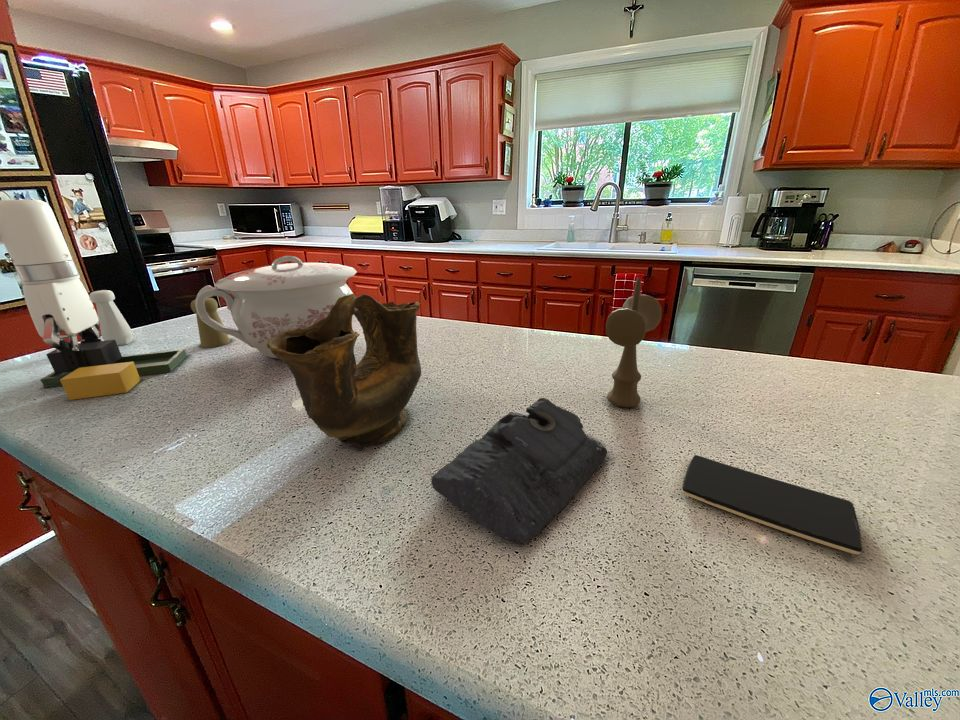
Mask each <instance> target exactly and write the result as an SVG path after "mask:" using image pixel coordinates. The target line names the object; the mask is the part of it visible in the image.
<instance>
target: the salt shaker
mask: <svg viewBox="0 0 960 720" xmlns="http://www.w3.org/2000/svg"><path fill="white" fill-rule="evenodd" d="M89 297H90V299H91V301H92V303H94V304H95V306H96V313H97V316H98V317H99V324H98V325H99V330H100V334H101V338H102V341H106V340H115V341H116V343H117V346H118V347H119V346H123V345H127V344H130V343H132V342H133V336H134V332H133V330H132V328H131V327H130V325H129V323H128V322H127V320H126V318H125V317H124V316H123V314H122V313H121V311H120V309H119V308H118V306H117V305H116V302H114V300H116V296H115V294H114V292H113V291H112V290H107V289H101V290H95V291H92V292H90V293H89Z"/></svg>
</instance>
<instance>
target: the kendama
mask: <svg viewBox="0 0 960 720" xmlns="http://www.w3.org/2000/svg"><path fill="white" fill-rule="evenodd" d="M633 289H634V290H633V295H632V296H629V297H628V298H627V299H626V300H625V302H624V303H623V305H622V307H621V308H617V309H615V310H613V311H611V313H610V314H609V315H608V317H607V319H606V323H605V334H606V335H607V338H608V339H609V341H611V342H612V343H613V344H614V345H617V346H620V347H623V350H622V353H621V356H620V361H619V363H618V365H617V367H616V369H615V370H614V371H612V374H611V378H612V379H613V386H612V389H611V390H610V391H608V393H607V395H606V399H607V400H608V402H609V403H610V404H613V405H614V406H617V407H621V408H634V407H637V406H638V405H639V404H641V401H642V399H641V396H640V394H639V392H638V384H639V382H640V381H641V380H642V374H641V373H640V372H639V369H638V361H637V359H638V358H637V345H639V344H640V343H641V342H642V341H643V340H644V339H645V336H646V333H648V332H650V331H654V330H656V328H657V327H658V326H659V324H660V322H661V320H662V316H663V313H662V312H663V311H662V310H663V309H662V306H661V304H660V302H659V300H658V299H656V298H655V297H654V296H651V295H647V294H641V291H642V278H641V277H640V276H638V277H637V278H636V280H635V284H634V288H633Z"/></svg>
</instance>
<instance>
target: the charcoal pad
mask: <svg viewBox="0 0 960 720" xmlns="http://www.w3.org/2000/svg"><path fill="white" fill-rule="evenodd" d="M78 346H79V349H83V351H84V354H85V356H86V358H87V360H88V363H89V365H90V366H99V365H107V364H114V363H115V362H116V361H118V360H119V359H121V358H122V356H123V355H122V353H121V350H120V348H119V346H117V343H116V341H115V340H106V341H105V340H101V341H97V342H87V343H81V342H78ZM46 357H47V359H48V362H49V364H50V365H51V368H52V370H53V372H55V373H64V372H72V371H69V370H68V368H67V366H66V364H65V362H64V359H63V357H62V355H61V353H59V352H57V350H56V349H53V350H52V351H49V352H48V353H46Z"/></svg>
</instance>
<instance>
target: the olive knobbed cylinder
mask: <svg viewBox="0 0 960 720" xmlns="http://www.w3.org/2000/svg"><path fill="white" fill-rule="evenodd" d="M195 301H196V299H193V300H191V303H190V309H191V311H192V312H193V313H194V314H195V315H196V322H197V329H198V335H199V342H200V347H201V348H204V349H205V348H207V349H208V348H209V349H210V348H216V347H221V346H224V345H225V346H226V345H227V344H229V343H230V342H231V339H230V337H229V334H226V333H223V332H220V331H217V330H215V329H213V328H212V327H210V326H209V325H208V324H206V323H205V322H203V321H202V320H201V319H200V317H199V315H198V314H197V311H196V306H195ZM205 308H206V311H207V313H208V314H209V316H210V317H211V318H212V319H213V320H215V321H217V322H218V323H220V324H221V325H223V326H224V324H223V321H222V320H221V317H220V315H219V313H218V309H219V304H218V301H217V300H216V299H215V298H213V297H208V298H206V299H205Z"/></svg>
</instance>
